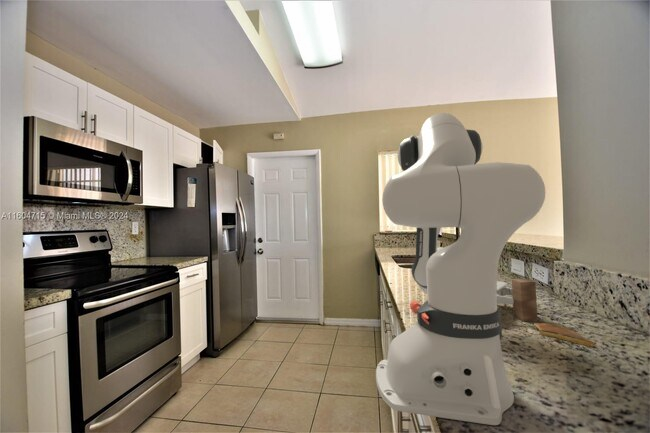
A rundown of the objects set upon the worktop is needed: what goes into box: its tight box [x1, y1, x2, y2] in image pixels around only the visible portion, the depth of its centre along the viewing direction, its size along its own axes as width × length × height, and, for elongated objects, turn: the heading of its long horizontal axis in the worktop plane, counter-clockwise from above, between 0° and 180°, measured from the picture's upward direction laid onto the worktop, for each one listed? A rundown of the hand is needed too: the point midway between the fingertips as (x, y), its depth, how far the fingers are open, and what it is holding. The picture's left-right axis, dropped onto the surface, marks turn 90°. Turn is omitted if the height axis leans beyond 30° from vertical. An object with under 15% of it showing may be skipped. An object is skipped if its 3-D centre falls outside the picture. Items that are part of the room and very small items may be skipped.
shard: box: [533, 322, 597, 348], centre depth 64 cm, size 11×8×2 cm
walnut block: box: [511, 278, 539, 322], centre depth 77 cm, size 4×4×11 cm
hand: (518, 297), depth 78 cm, fingers open, 8 cm apart
